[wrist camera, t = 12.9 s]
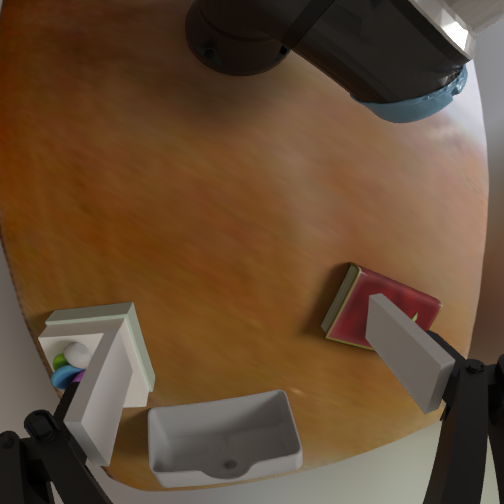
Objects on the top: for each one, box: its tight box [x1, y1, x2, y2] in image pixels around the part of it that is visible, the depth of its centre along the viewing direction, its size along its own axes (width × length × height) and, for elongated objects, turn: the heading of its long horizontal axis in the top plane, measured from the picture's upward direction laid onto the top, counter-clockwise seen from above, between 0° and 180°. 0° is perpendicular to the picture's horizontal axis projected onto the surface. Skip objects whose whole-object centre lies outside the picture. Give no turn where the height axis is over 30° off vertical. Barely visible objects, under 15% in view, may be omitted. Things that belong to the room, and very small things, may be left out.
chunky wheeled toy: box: [51, 342, 91, 393], centre depth 34 cm, size 8×10×7 cm
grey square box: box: [38, 302, 155, 407], centre depth 41 cm, size 14×14×8 cm
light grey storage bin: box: [148, 389, 302, 487], centre depth 47 cm, size 25×16×12 cm, turn 97°
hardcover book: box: [321, 262, 443, 351], centre depth 49 cm, size 12×21×4 cm, turn 67°
